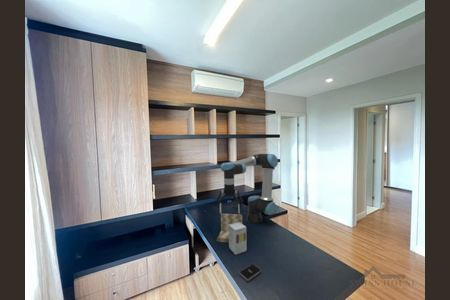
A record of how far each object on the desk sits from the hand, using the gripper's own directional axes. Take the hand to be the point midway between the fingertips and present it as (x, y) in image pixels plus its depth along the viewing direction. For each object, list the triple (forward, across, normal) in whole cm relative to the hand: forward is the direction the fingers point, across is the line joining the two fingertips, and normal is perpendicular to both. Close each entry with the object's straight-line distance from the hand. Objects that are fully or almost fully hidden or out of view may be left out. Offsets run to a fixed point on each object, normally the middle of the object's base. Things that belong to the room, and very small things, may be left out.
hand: (229, 212), depth 123 cm
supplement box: (+24, -6, +5) cm, 25 cm away
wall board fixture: (+24, +1, -11) cm, 26 cm away
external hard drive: (+24, -14, +27) cm, 39 cm away
